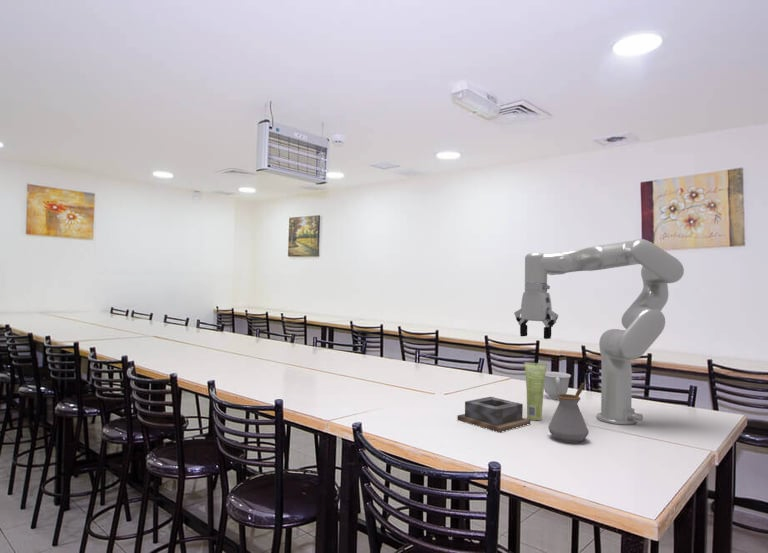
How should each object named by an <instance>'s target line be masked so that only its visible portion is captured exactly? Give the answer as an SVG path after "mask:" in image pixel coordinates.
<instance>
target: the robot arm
mask: <svg viewBox="0 0 768 553" xmlns="http://www.w3.org/2000/svg"><path fill="white" fill-rule="evenodd" d="M634 265H635V266H637V265H641V266H642V267H641V269H640V276H641V279H642V285H643V286H642V287H643V288H642V290H641V292H640V294H639V295H638V296H637V298H636V299H635V300H634V301H633V302H632V303H631V304H630V306H629V307H628V308H627V309H626V310H625V312H624V313H623V315H622V316H621V325H622V327H623V328H624V329H625V330H624V329H620V328H611V329H608V330H606V331H604V332H603V333H602V334H601V336H600V337H599V338H600V339H599V342H598V343H599V352H600V361H601V378H600V380H601V382H600V386H601V388H600V390H601V394H600V395H601V396H600V397H601V398H600V400H601V403H600V406H601V408H600V412H597V413H596V414H595V415H596V416H595V417H596V419H597V420H599V421H601V422H604V423H607V424H615V425H625V426H626V425H627V426H628V425H634V424H636V423H637V421H639V422H643V421H644V420H643V419H644V416H643V414H642V413H636V412H635V408H633V407H632V387H633V386H632V383H633V382H632V377H633V375H632V374H633V371H632V363H631V361H635V360H637V359H639V358H640V357H642V356H643V355H644V354H645V353H646V352H647V351H648V350H649V348H650V347H651V346H652V345H653V344H654V343H655V342H656V340H657V339H658V338H659V337H660V335H661V334H662V333H663V331H664V329H665V326H666V317H665V314H664V313H663V312H662V310H663V308H664V307H665V306H666V304H667V302H668V300H669V286H668V284H674V283H676V282H679V281H680V280H681V279H682V278H683V276H684V273H685V269H684V268H685V267H684V266H683V263H682V262H681V261H680V260H679V259H678V258H676V257H675V256H673V255H672V254H670V253H669V252H668V251H666V250H664V249H663V248H662V247H659V246H658V245H657V244H655V243H653V242H651V241H649V240H647V239H644V238H640V239H634V240H628V241H622V242H621V241H620V242H615V243H614V242H613V243H608V244H600V245H594V246H590V247H585V248H581V249H577V250H572V251H565V252H555V253H542V252H540V253H539V252H538V253H537V252H534V253H533V252H531V253H527V254H526V255H525V256H524V292H523V293H522V297H521V306H520V308H519V309H518V310H516V311H515V312H514V313H513V314H514V316H515V320H516V321H517V323H518V325H519V334H520V335H519V336H520V337H527V336H528V322H529V321H531V322H532V321H533V322H541V323H543V325H544V327H543V339H544V340H548V339H549V340H550V339H552V328H553V327H554V325H555V324H556V323H557V320H558V318H559V314H558V313H556V312H555V311H553V308H552V300H551V295H550V292H548V290H550V288H551V286H550V285H548V275H550V276H554V275H565V274H567V273H568V274H569V273H575V272H587V271H589V272H592V271H602V270H607V269H614V268H621V267H628V266H634Z"/></svg>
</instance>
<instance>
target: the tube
mask: <svg viewBox="0 0 768 553" xmlns="http://www.w3.org/2000/svg"><path fill="white" fill-rule="evenodd" d="M547 366H548V364H547V363H539V362H538V363H537V362H524V372H525V384H526V385H525V386H526V419H528V420H529V419H530V421H534V420H540V421H542V420H543V419H542V418H543V406H544V405H543V404H544V392H545V390H544V381H545V373H546V372H547Z"/></svg>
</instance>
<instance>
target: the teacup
mask: <svg viewBox="0 0 768 553" xmlns="http://www.w3.org/2000/svg"><path fill="white" fill-rule="evenodd" d="M571 377H572V375H571V374H570V373H566V372H559V371H546V373H545V381H544V392H545V393H546V394H547V395H548V398H549V399H550V398H551V399H550V400H555V399H559V398H558V397H557V395H559V394H568V389H569V383H570V378H571Z"/></svg>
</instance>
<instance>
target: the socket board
mask: <svg viewBox="0 0 768 553" xmlns="http://www.w3.org/2000/svg"><path fill="white" fill-rule="evenodd" d="M523 405H524V404H523V403H519V402H515V401H511V400H506V399H501V398H497V397H494V396H487V397H481V398H477V399H471V400H467V401H465V402H464V413H463V414H458V415H456V416H457V417H456V419H457V421H459V422H463V423H466V422H467V423H466V424H470V425H473V424H474V426H476V425H477V426H476V427H479V426H480V427H481V428H483V427H484V428H483V429H486V428H487V430H489V429H490V431H493V430H494V432H496V431H497V432H496V433H499V432H500V433H503V432H502V431H504V432H507V431H506V430H508V431H510V430H509V429H512V428H516V427H519V428H521V427H520V426H523V425H527V424H530V425H531V420H529V419H527V418H525V417H524V418H523V411H524V410H523V408H524V407H523ZM527 426H528V425H527ZM523 427H524V426H523ZM516 429H517V428H516ZM512 430H513V429H512Z"/></svg>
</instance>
